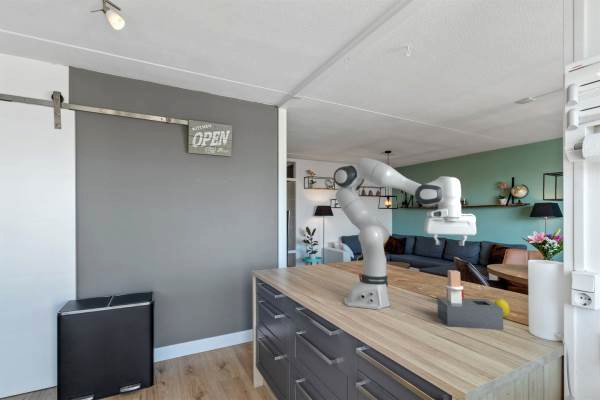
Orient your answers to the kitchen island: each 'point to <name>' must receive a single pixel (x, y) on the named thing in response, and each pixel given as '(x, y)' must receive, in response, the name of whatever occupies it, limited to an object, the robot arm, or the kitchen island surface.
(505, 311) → the lemon
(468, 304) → the block
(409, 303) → the kitchen island surface
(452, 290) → the pink white square peg
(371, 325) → the kitchen island surface
